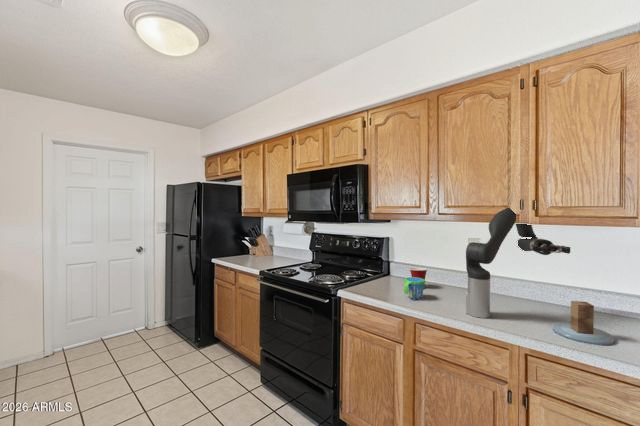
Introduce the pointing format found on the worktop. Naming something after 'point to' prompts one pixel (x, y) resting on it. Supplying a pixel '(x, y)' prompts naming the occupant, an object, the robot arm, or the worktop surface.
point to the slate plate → (583, 335)
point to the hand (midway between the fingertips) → (557, 250)
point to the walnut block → (582, 317)
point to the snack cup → (414, 287)
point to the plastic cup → (418, 272)
